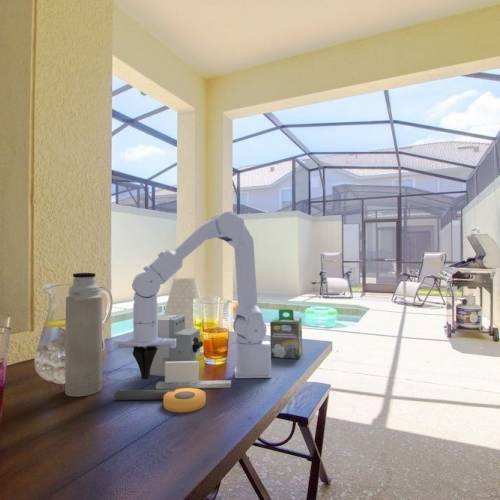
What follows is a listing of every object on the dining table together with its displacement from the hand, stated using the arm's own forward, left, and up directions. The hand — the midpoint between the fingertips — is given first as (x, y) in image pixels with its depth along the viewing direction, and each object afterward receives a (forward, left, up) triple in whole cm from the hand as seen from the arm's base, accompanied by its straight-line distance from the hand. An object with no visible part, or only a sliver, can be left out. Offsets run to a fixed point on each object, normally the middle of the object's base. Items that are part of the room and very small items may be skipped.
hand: (145, 377), depth 90 cm
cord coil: (-11, +11, -2) cm, 15 cm away
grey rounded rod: (-2, +8, -2) cm, 8 cm away
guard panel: (-9, 0, -1) cm, 9 cm away
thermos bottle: (+14, +1, -3) cm, 15 cm away
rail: (-12, 0, -2) cm, 12 cm away
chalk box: (-39, -28, -3) cm, 48 cm away
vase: (-3, -56, -3) cm, 56 cm away
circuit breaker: (-6, -12, -3) cm, 14 cm away
